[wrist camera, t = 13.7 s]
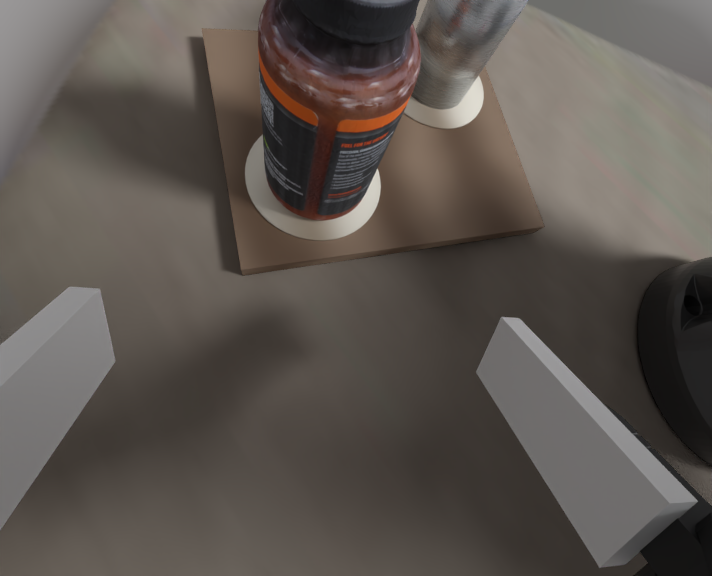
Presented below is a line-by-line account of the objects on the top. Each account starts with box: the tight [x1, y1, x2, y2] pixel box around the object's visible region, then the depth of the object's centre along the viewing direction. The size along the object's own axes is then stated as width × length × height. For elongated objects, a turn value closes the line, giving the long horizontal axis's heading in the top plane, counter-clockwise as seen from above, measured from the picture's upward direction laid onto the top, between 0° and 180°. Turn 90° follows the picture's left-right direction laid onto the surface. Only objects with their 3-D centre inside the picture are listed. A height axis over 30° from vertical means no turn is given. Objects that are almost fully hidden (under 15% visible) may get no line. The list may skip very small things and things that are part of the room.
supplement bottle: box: [258, 0, 421, 221], centre depth 15 cm, size 6×6×11 cm
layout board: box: [202, 28, 545, 275], centre depth 22 cm, size 20×16×1 cm
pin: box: [411, 0, 529, 110], centre depth 20 cm, size 5×5×9 cm
